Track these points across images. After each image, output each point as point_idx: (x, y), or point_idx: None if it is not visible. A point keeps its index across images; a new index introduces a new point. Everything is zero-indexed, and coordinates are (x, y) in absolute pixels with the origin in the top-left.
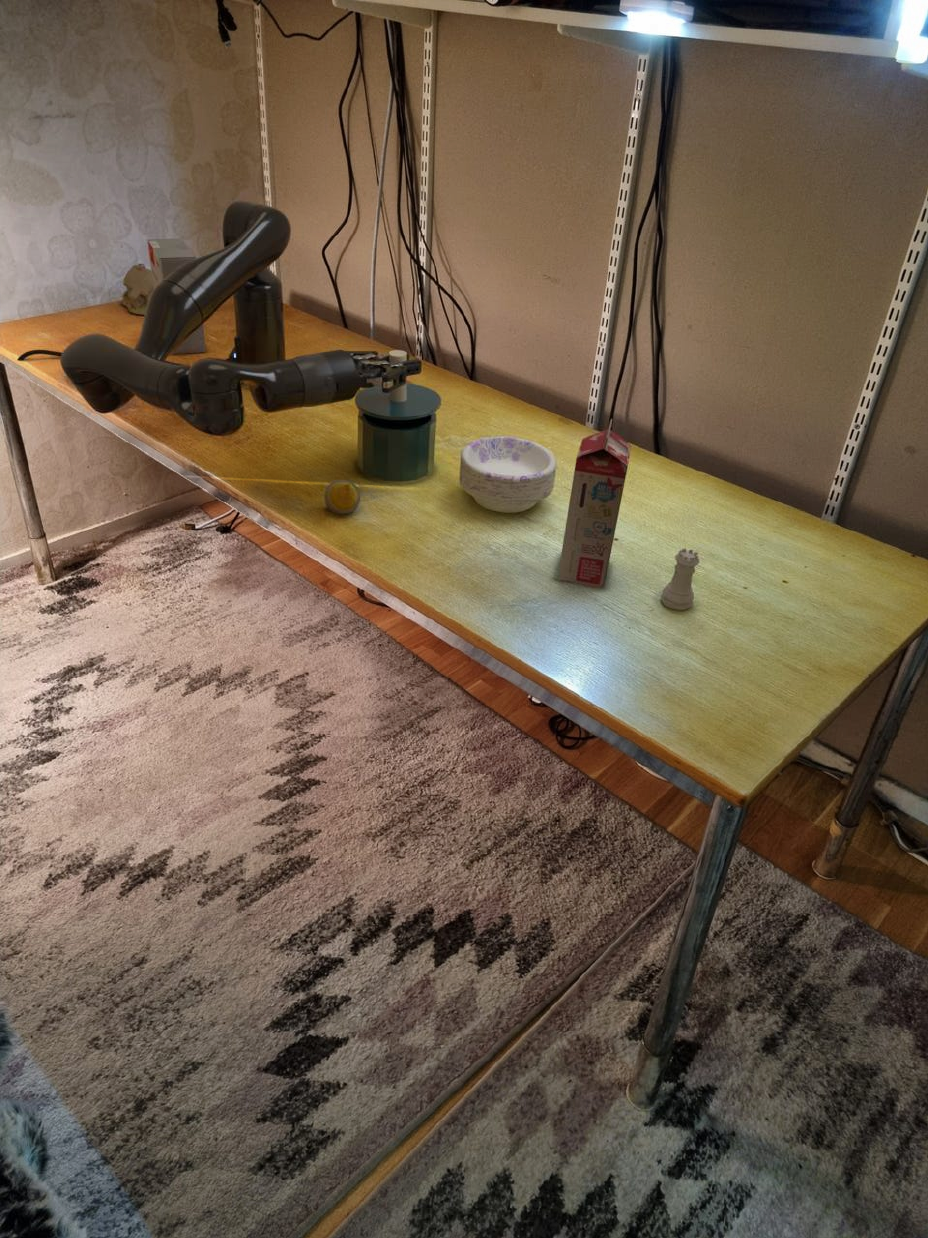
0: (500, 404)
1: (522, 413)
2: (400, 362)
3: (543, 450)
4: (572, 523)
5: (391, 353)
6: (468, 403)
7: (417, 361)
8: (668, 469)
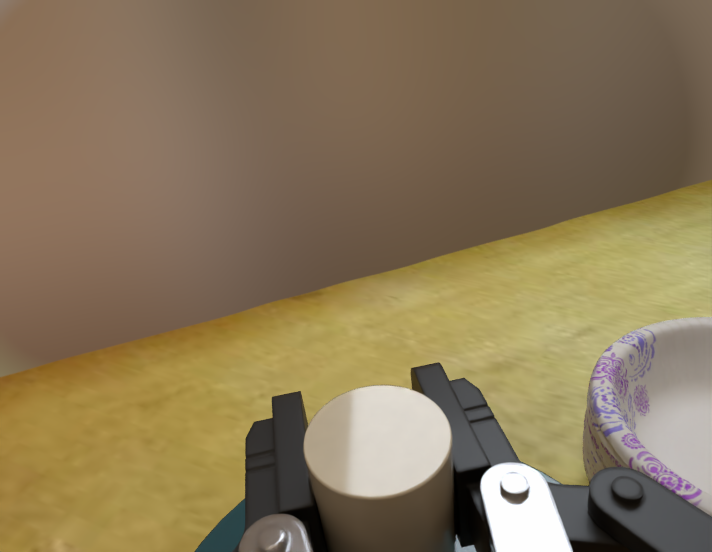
0: (164, 354)
1: (231, 335)
2: (510, 474)
3: (695, 327)
4: None
5: (365, 479)
6: (110, 404)
7: (448, 379)
8: (545, 240)
